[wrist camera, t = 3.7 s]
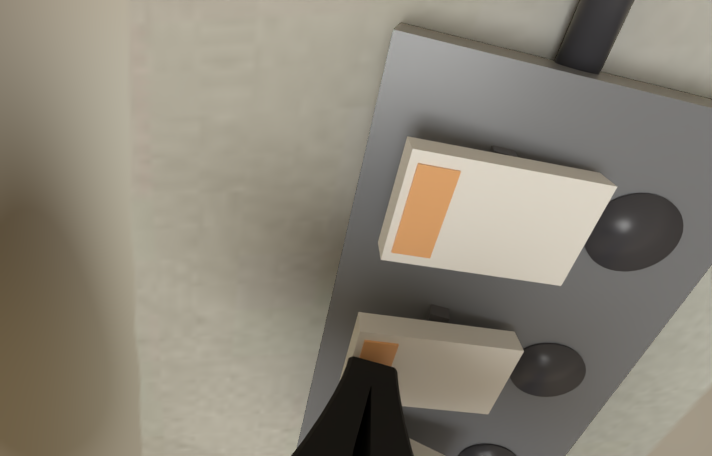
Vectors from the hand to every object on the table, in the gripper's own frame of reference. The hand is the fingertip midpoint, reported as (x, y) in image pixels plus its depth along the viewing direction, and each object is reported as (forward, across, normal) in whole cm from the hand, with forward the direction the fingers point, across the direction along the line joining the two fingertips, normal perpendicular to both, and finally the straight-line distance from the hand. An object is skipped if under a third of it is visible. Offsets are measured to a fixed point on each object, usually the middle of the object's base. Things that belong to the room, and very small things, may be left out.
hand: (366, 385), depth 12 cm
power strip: (+5, -3, -3) cm, 7 cm away
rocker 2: (+1, -2, 0) cm, 2 cm away
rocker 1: (+1, -2, -6) cm, 6 cm away
